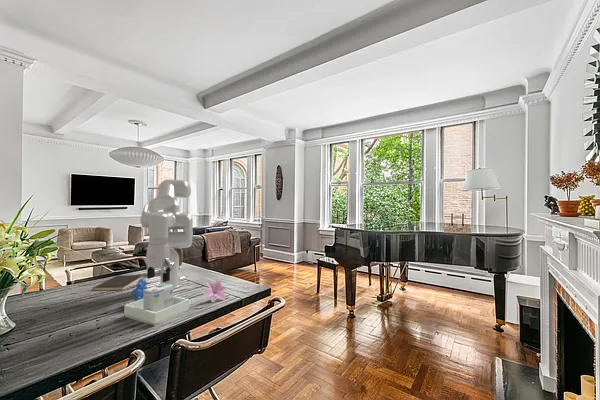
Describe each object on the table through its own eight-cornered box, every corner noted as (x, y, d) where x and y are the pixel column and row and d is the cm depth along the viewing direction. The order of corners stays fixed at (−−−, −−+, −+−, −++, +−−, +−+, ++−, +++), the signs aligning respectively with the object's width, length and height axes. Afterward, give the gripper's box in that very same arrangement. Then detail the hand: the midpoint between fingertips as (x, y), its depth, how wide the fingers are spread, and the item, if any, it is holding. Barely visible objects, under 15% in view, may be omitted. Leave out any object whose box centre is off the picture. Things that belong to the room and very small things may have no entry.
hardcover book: (143, 278, 174) (143, 275, 174) (123, 290, 151) (123, 286, 151) (116, 279, 172) (116, 275, 172) (92, 291, 149) (92, 287, 149)
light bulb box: (163, 305, 127) (163, 282, 127) (174, 308, 124) (174, 284, 124) (142, 314, 117) (142, 289, 117) (153, 317, 115) (153, 291, 115)
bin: (159, 303, 133) (159, 292, 133) (188, 310, 125) (189, 299, 125) (124, 316, 117) (124, 305, 117) (155, 325, 109) (155, 313, 109)
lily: (198, 305, 133) (204, 290, 130) (202, 288, 144) (208, 274, 141) (222, 310, 137) (228, 296, 134) (224, 293, 147) (230, 280, 144)
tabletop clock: (181, 269, 196) (181, 234, 196) (183, 272, 189) (183, 236, 189) (158, 271, 189) (159, 235, 189) (159, 274, 181) (160, 237, 181)
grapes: (134, 300, 135) (135, 276, 135) (149, 299, 137) (150, 275, 137) (126, 309, 124) (126, 283, 124) (142, 308, 126) (142, 282, 126)
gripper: (137, 240, 121) (137, 278, 122) (165, 245, 114) (164, 285, 115) (152, 238, 128) (152, 274, 128) (179, 242, 121) (179, 280, 121)
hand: (158, 279), depth 121 cm, fingers open, 9 cm apart
